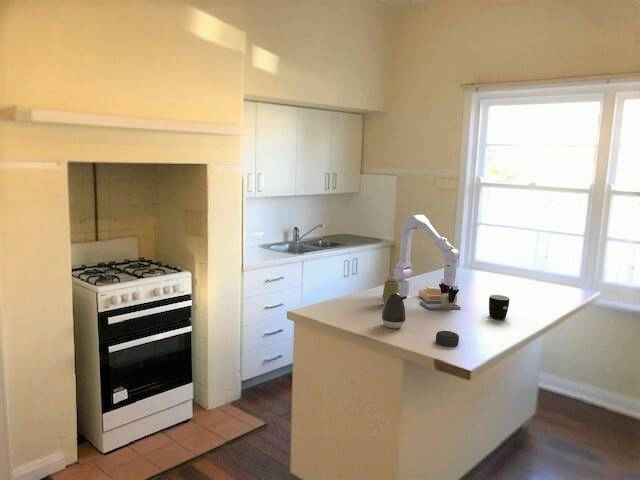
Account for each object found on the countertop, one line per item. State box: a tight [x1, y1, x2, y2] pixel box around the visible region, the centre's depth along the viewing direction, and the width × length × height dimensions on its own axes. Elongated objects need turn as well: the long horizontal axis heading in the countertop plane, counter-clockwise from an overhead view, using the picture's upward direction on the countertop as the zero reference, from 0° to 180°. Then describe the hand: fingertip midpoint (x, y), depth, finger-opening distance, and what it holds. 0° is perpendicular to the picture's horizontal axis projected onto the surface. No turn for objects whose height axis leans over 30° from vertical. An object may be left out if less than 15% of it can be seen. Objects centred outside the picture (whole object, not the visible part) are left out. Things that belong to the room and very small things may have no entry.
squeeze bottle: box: [382, 269, 399, 305], centre depth 262 cm, size 8×8×18 cm
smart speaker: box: [435, 330, 460, 347], centre depth 213 cm, size 9×9×4 cm
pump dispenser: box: [381, 292, 408, 330], centre depth 229 cm, size 10×10×15 cm
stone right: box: [441, 293, 455, 307], centre depth 264 cm, size 4×4×6 cm
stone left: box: [425, 285, 439, 296], centre depth 277 cm, size 4×4×6 cm
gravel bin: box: [418, 288, 458, 303], centre depth 278 cm, size 15×13×4 cm
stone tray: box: [419, 300, 461, 311], centre depth 263 cm, size 16×11×2 cm
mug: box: [488, 294, 511, 321], centre depth 251 cm, size 12×9×10 cm
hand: (447, 300), depth 264 cm, fingers open, 7 cm apart
